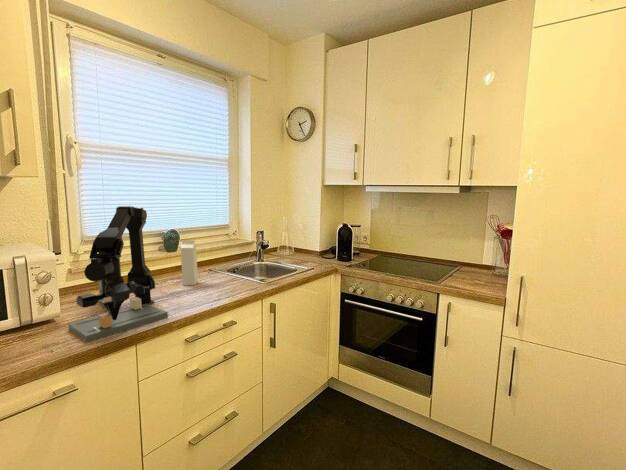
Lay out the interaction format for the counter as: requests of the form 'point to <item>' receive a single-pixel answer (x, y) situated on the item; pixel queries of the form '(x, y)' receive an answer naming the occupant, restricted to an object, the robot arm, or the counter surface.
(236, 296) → the counter surface
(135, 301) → the cream slider
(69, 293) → the counter surface
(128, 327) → the panel
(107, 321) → the copper slider
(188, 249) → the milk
